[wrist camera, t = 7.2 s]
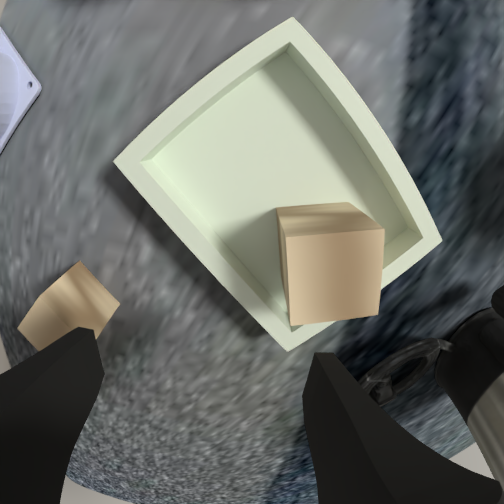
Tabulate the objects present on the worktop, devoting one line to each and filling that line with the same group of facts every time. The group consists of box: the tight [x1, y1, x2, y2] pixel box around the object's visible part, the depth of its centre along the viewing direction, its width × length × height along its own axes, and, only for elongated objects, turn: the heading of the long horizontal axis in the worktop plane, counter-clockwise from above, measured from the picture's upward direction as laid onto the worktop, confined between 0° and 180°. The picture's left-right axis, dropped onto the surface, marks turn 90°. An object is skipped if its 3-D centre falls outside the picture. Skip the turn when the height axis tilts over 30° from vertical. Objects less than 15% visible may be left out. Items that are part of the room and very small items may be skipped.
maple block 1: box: [17, 261, 120, 351], centre depth 17 cm, size 4×4×5 cm
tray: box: [113, 17, 442, 352], centre depth 15 cm, size 14×11×2 cm
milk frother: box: [358, 286, 504, 491], centre depth 14 cm, size 14×16×15 cm
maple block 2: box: [276, 202, 385, 326], centre depth 15 cm, size 4×4×5 cm
